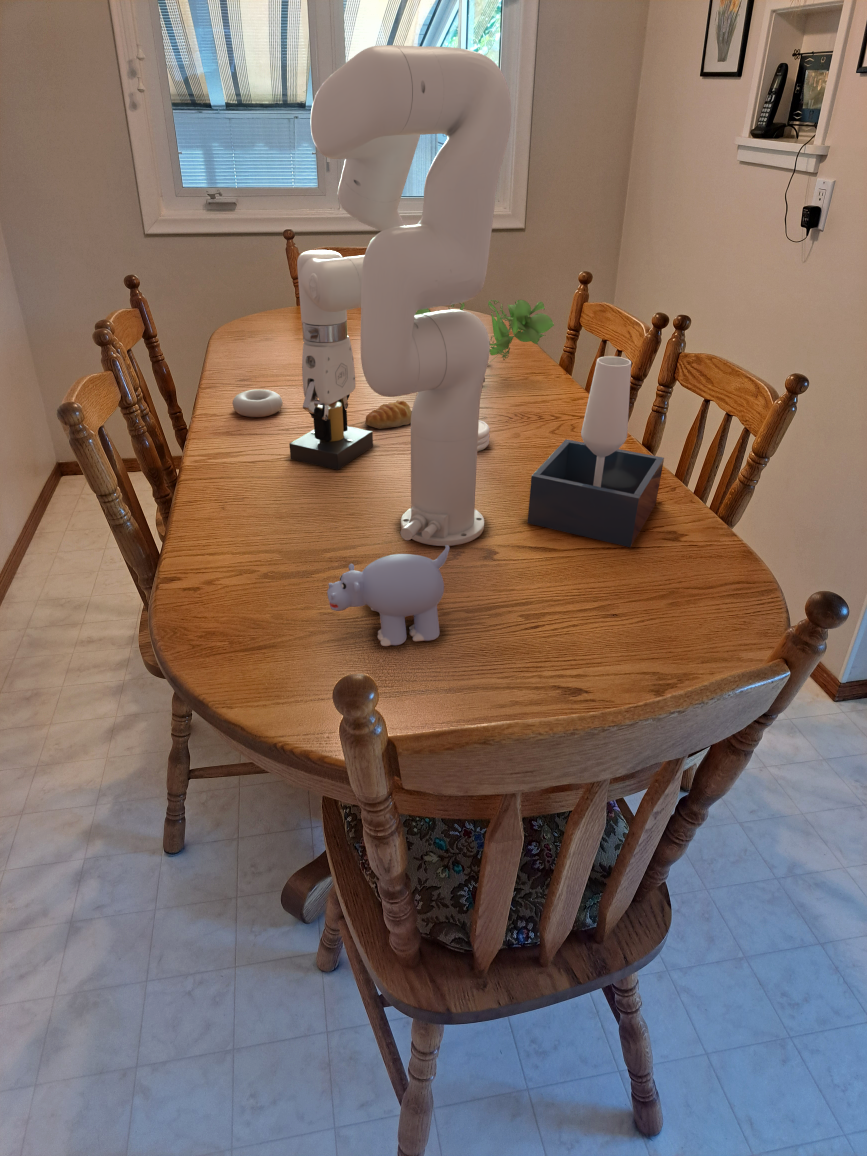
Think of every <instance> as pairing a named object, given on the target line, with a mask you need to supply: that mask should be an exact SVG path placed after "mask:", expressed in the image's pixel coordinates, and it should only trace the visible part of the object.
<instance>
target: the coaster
mask: <svg viewBox="0 0 867 1156" xmlns="http://www.w3.org/2000/svg"><path fill="white" fill-rule="evenodd" d="M490 431H491V428H490V425H489V424H488V423H487V422H485V421H483V420H481V419H479V427H478V445H477V452H481V451H483V450H484V449H486V448H487V447H488V446H489V444H490Z"/></svg>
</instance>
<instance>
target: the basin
mask: <svg viewBox="0 0 867 1156" xmlns="http://www.w3.org/2000/svg"><path fill="white" fill-rule="evenodd" d="M596 460H597V456H596V455H595V454H593V453H592V451H591V450H590V449H589V448H588V447H587V446H586V445H585V443H584V441H578V440H572V439H564V440H563V441H562V443H561V444H560V445H559V446H558V447H557V448H556V449H555V450H554V451H553V452H552V454H550V455H549V456H548V457H547V458H546V460H545V461H544V462H542V464H541V465H540V466H539V467H538V468H537V469H536V470H535V471H534V472H533V473H532V474H531V478H530V486H529V487H530V488H529V499H528V500H529V501H528V509H527V510H528V512H527V524H529V525H534V526H537V527H541V528H546V529H551V530H555V531H559V532H562V533H567V534H570V535H571V534H572V535H575V536H580V537H584V538H589V539H593V540H596V541H601V542H605V543H611V544H614V545H619V546H624V547H627V548H631V547H632V546H633V544H634V542H635V541H636V539H637V538H638V536H639V534H640V532H641V531H642V529H643V527H644V526H645V523H646V522H647V520H648V518H649V516H651V513H652V511H653V510H654V508H655V506H656V504H657V499H658V495H659V488H660V484H661V477H662V472H663V467H664V461H665V457H663V456H657V455H653V454H648V453H647V454H646V453H641V452H636V451H630V450H625V449H621V448H619V449H618V450H616V451H615V452H613V453H612V454H610V455H608V456H606V457H605V460H604V467H603V474H602V481H601V487H597V486H593V483H594V475H595V468H596Z"/></svg>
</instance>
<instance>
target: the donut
mask: <svg viewBox="0 0 867 1156" xmlns="http://www.w3.org/2000/svg"><path fill="white" fill-rule="evenodd" d="M282 407H283V399H282V396H281V395H280V394H279V393H277V392H276V391H272V390H270V389H264V388H263V389H262V388H259V389H258V388H257V389H249V390H244V391H242V392H240V393H238V394H236V395H235V396H234V398H233V399H232V408H233V410H234V411H235V412H236V413H237V414H239V415H240V416H244V417H247V418H265V417H270V416H273V415H274V414H277V413H278V412H279V411H280V410H281V409H282Z"/></svg>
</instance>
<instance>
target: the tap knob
mask: <svg viewBox="0 0 867 1156" xmlns="http://www.w3.org/2000/svg"><path fill="white" fill-rule="evenodd" d="M322 406H323V405H319V404H318V408H320V409H321V410H322ZM328 419H330V420H331V436H332V440H331V441H329V442H332V441H339V440H341V439H343V438H344V428H343V409H342V403H341V402H338V401H336V402H334V403H332V404H330V405H329V411H328ZM323 441H324V440H323Z"/></svg>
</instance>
